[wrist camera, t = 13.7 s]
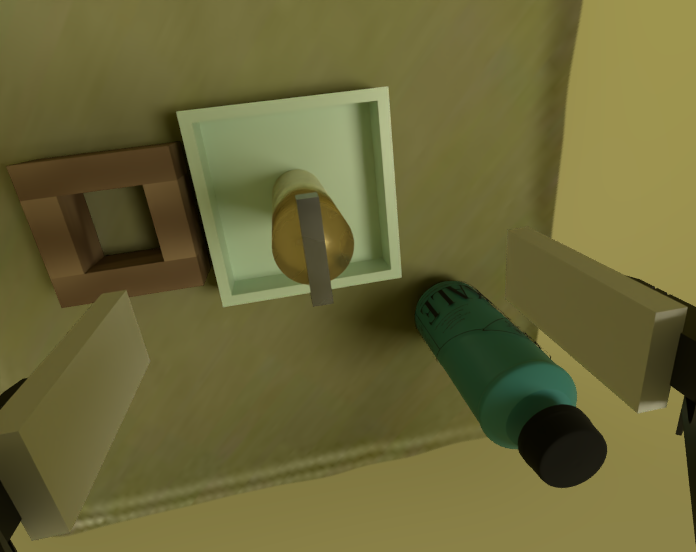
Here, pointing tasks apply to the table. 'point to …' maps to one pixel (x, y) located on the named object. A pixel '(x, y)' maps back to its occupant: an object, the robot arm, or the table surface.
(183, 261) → the block
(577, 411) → the beverage bottle
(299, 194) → the amber rounded cylinder
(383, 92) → the tray
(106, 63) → the table surface
